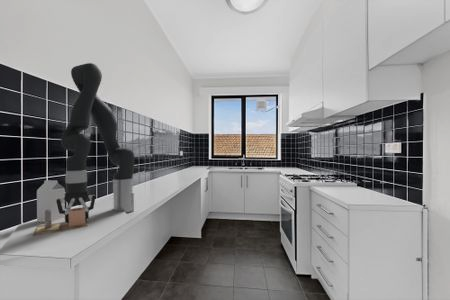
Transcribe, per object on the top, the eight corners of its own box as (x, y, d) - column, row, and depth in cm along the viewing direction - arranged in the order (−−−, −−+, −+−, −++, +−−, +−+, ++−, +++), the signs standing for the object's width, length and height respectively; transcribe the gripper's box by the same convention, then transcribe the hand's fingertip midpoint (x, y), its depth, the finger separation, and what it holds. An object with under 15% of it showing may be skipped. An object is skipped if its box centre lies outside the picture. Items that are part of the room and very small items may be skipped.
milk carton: (50, 225, 96) (49, 181, 96) (36, 224, 97) (36, 181, 97) (65, 220, 103) (64, 179, 103) (52, 219, 104) (52, 179, 104)
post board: (86, 221, 100) (86, 201, 100) (87, 229, 90) (87, 207, 90) (37, 229, 91) (37, 207, 91) (32, 240, 80) (32, 214, 80)
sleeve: (84, 220, 97) (84, 207, 97) (85, 224, 92) (85, 209, 92) (69, 223, 94) (68, 209, 94) (68, 226, 89) (68, 212, 89)
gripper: (95, 179, 100) (96, 216, 100) (55, 181, 92) (56, 222, 92) (97, 180, 94) (97, 220, 94) (54, 183, 86) (54, 227, 86)
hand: (77, 221), depth 93 cm, fingers closed on sleeve, 5 cm apart
